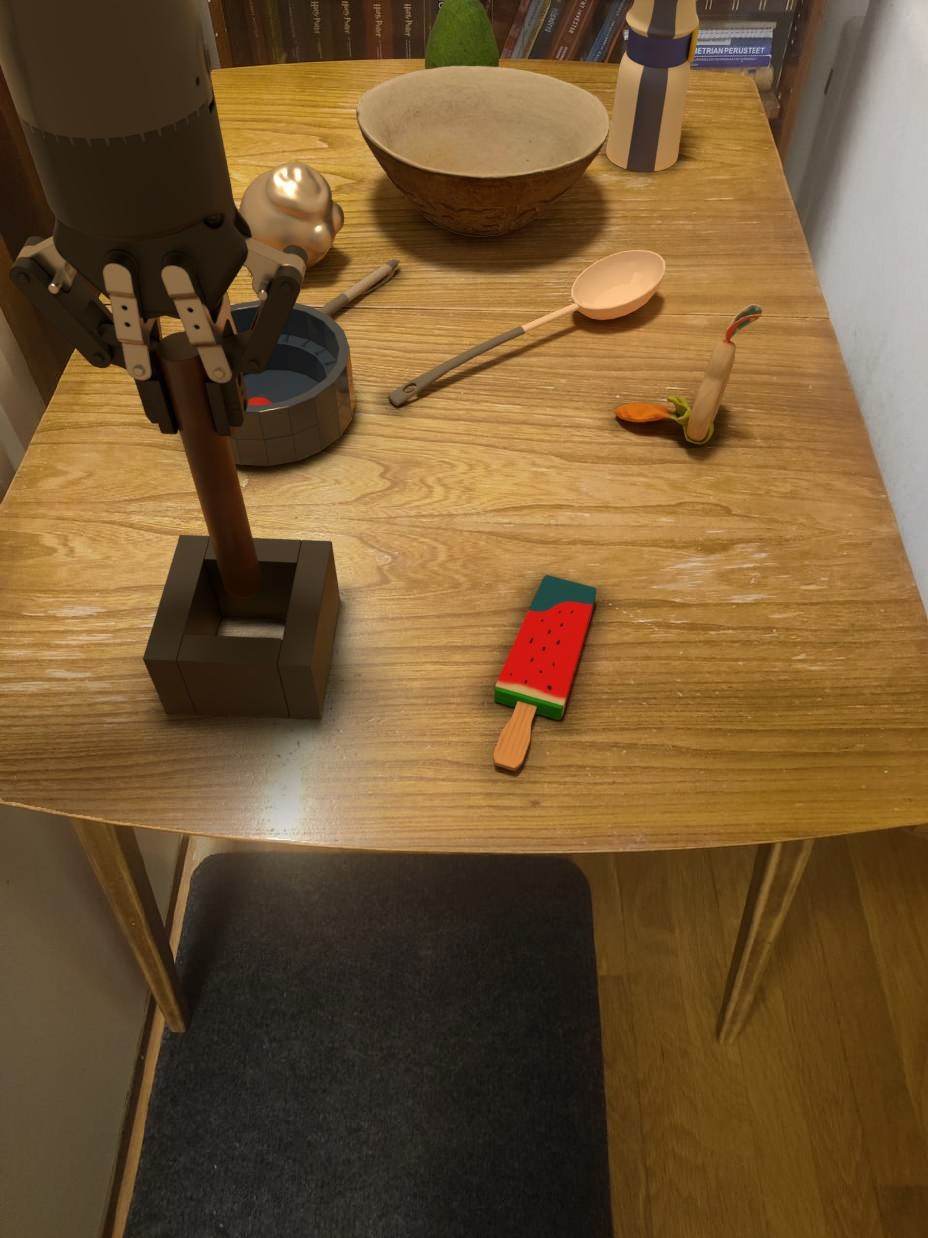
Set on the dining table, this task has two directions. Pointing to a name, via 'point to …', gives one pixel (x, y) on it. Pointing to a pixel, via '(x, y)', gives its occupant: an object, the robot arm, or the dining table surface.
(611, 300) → the ladle
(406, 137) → the bowl
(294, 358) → the dark grey round dish
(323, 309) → the pen
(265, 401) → the bead
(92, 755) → the dining table surface
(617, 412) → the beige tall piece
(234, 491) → the stick
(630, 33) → the water bottle
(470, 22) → the fruit
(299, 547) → the holder
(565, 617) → the popsicle
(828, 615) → the dining table surface
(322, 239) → the copper rounded figure
